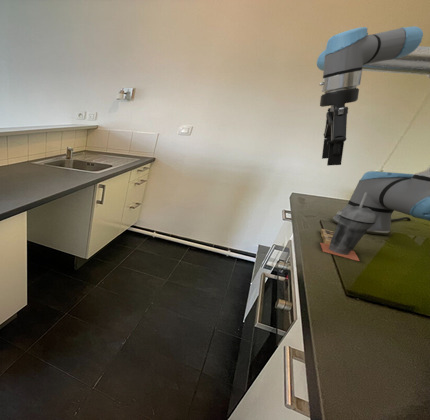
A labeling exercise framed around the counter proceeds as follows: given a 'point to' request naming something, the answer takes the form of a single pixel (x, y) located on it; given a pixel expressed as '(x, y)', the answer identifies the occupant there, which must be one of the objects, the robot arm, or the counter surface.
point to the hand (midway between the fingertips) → (330, 161)
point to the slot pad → (326, 249)
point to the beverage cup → (351, 228)
